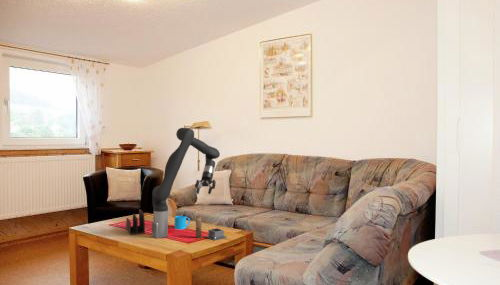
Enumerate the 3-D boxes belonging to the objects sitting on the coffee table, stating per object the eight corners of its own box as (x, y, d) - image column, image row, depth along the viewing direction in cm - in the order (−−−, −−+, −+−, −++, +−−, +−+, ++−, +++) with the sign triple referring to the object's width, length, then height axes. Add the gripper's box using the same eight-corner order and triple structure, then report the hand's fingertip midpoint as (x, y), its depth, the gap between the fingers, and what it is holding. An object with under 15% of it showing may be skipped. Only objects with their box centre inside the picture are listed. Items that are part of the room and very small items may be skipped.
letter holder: (140, 227, 273) (140, 208, 272) (144, 233, 255) (145, 213, 254) (125, 228, 268) (126, 209, 268) (129, 235, 250) (129, 214, 250)
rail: (197, 238, 244) (198, 217, 243) (194, 237, 246) (194, 216, 246) (202, 237, 246) (202, 216, 246) (199, 236, 249) (199, 215, 249)
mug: (177, 230, 266) (177, 218, 266) (172, 227, 272) (172, 216, 272) (192, 227, 273) (192, 216, 273) (187, 225, 280) (187, 214, 280)
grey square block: (214, 240, 240) (214, 232, 240) (205, 237, 247) (205, 229, 247) (226, 237, 246) (226, 230, 246) (217, 234, 254) (217, 227, 254)
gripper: (197, 170, 269) (191, 190, 259) (215, 170, 265) (211, 191, 255) (200, 176, 274) (195, 196, 265) (218, 176, 270) (214, 196, 261)
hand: (203, 193), depth 260 cm, fingers open, 8 cm apart
